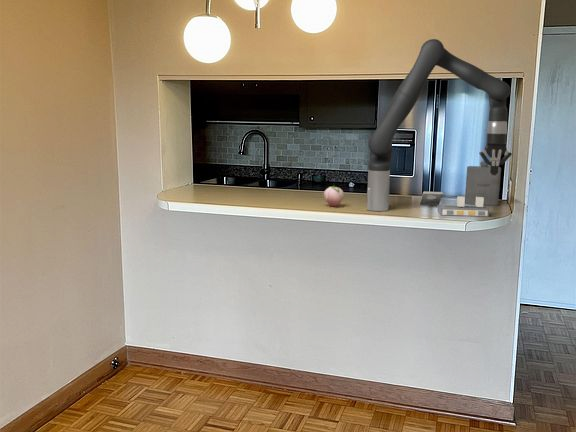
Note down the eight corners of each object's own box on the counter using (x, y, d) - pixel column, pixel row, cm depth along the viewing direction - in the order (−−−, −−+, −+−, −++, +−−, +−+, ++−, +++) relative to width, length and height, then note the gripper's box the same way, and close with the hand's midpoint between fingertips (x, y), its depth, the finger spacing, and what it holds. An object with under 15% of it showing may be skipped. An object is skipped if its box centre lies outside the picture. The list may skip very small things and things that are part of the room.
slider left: (458, 206, 236) (458, 196, 235) (456, 205, 239) (457, 195, 238) (464, 206, 235) (465, 196, 235) (462, 205, 239) (463, 195, 238)
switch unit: (441, 215, 234) (441, 208, 233) (437, 211, 243) (437, 204, 243) (488, 217, 232) (489, 209, 231) (483, 212, 241) (483, 205, 241)
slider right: (477, 207, 235) (477, 196, 234) (475, 205, 238) (475, 195, 237) (483, 207, 235) (483, 197, 234) (481, 205, 238) (482, 195, 237)
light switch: (438, 201, 261) (443, 190, 248) (438, 213, 260) (443, 202, 246) (419, 200, 263) (423, 189, 249) (419, 212, 261) (423, 202, 247)
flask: (465, 204, 263) (468, 161, 260) (464, 202, 269) (467, 160, 265) (499, 206, 260) (502, 162, 257) (497, 204, 266) (500, 161, 262)
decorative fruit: (347, 207, 251) (348, 185, 249) (332, 208, 247) (332, 186, 245) (335, 204, 259) (336, 182, 258) (320, 205, 255) (321, 183, 254)
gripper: (482, 132, 227) (479, 175, 231) (516, 133, 226) (513, 176, 229) (478, 132, 235) (475, 173, 238) (511, 132, 233) (508, 174, 236)
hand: (493, 175), depth 233 cm, fingers closed
